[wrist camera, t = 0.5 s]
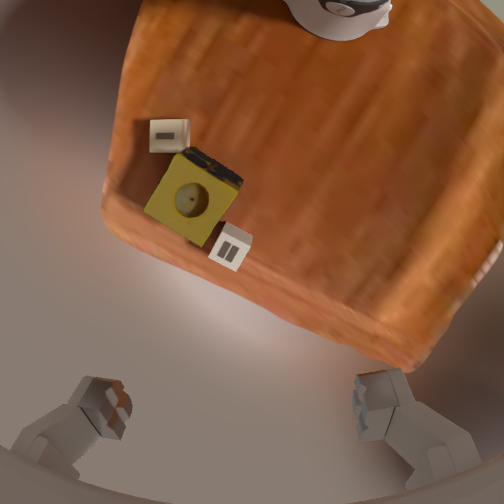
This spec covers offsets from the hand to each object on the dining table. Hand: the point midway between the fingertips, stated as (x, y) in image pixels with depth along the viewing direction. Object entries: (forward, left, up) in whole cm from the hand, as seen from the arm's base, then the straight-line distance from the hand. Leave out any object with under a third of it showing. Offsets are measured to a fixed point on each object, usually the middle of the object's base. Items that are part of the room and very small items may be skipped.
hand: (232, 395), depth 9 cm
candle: (+4, -9, -43) cm, 44 cm away
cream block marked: (+12, -2, -42) cm, 44 cm away
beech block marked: (-4, -15, -42) cm, 45 cm away
